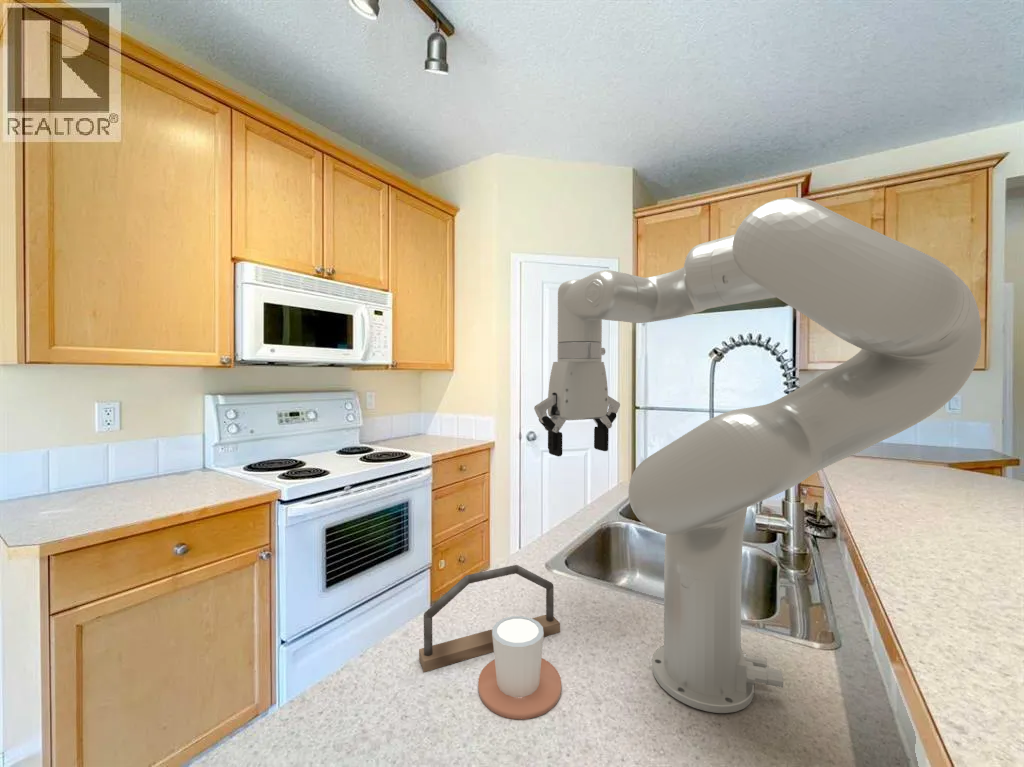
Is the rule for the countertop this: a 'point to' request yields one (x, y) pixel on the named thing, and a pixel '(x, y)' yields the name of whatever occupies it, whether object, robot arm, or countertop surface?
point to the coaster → (520, 706)
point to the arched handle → (481, 641)
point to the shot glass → (518, 655)
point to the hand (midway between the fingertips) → (578, 452)
